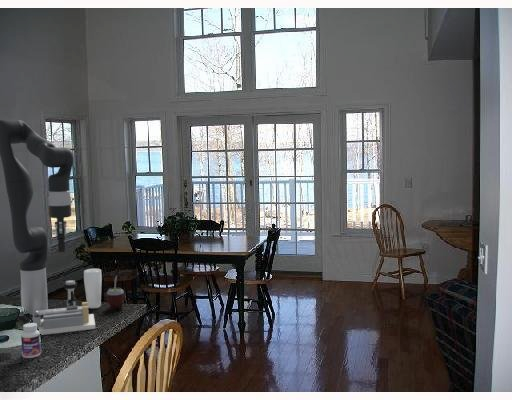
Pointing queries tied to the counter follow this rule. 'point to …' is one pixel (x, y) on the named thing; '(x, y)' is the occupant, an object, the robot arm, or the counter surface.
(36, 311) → the latch bar
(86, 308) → the base
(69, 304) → the push button
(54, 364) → the counter surface
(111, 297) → the mate gourd
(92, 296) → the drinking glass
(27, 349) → the pill bottle
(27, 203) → the robot arm
